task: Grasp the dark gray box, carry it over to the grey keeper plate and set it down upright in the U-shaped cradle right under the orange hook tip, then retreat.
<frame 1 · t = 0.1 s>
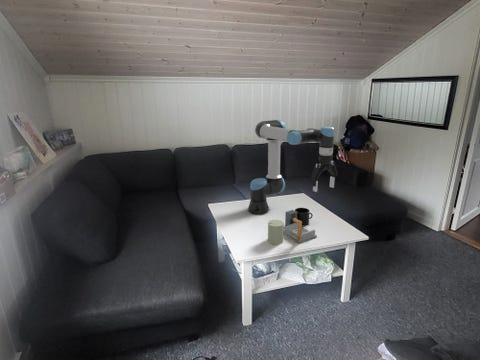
hand: (323, 189, 175), 28 cm above the table, fingers open, 13 cm apart
keeper: (298, 234, 180), on the table
mug: (303, 223, 196), on the table
dark gray box: (290, 226, 192), on the table
can: (275, 241, 174), on the table
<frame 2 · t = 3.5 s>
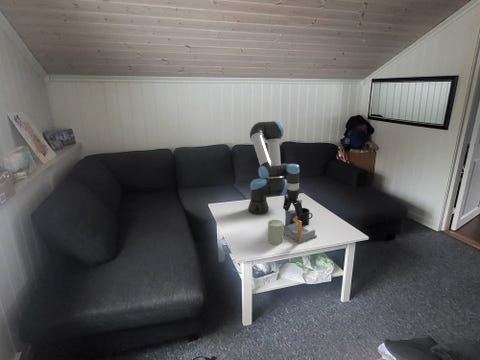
hand: (292, 222, 190), 3 cm above the table, fingers open, 9 cm apart
nothing on the table moved.
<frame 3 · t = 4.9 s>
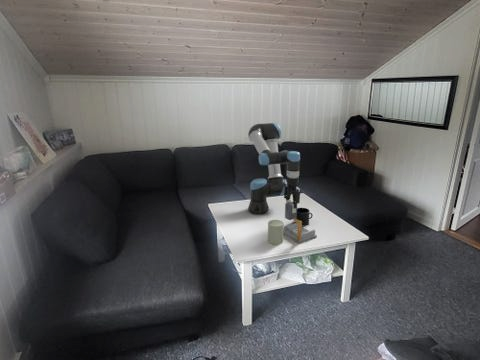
hand: (291, 210, 189), 10 cm above the table, fingers closed on dark gray box, 5 cm apart
dark gray box: (290, 217, 191), point 6 cm above the table, touching gripper
everything else where it was.
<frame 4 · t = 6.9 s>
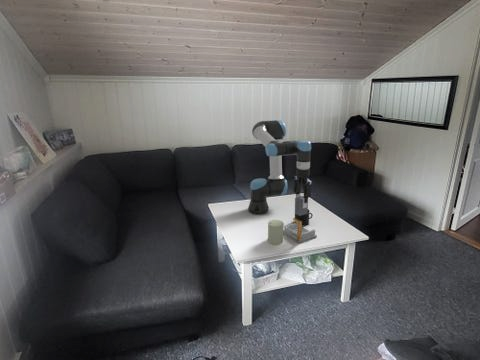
hand: (301, 206, 175), 19 cm above the table, fingers closed on dark gray box, 5 cm apart
dark gray box: (301, 213, 176), point 14 cm above the table, touching gripper
everything else where it was.
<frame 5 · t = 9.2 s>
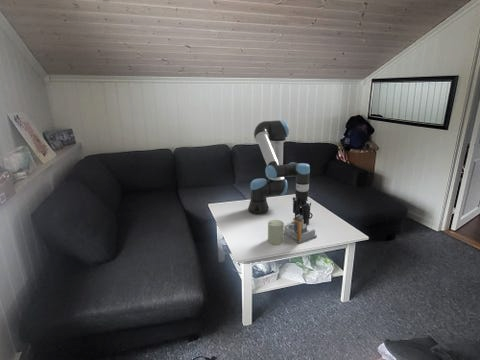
hand: (300, 226, 178), 6 cm above the table, fingers closed on dark gray box, 5 cm apart
dark gray box: (300, 232, 180), point 1 cm above the table, touching gripper, keeper
everything else where it was.
when the fingers open (6 cm above the table, at t = 9.8 s): dark gray box stays where it is, resting on keeper.
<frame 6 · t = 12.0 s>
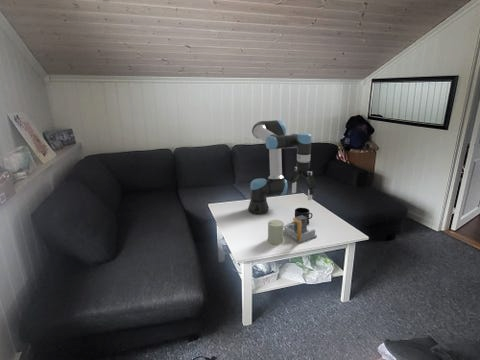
hand: (301, 196, 173), 25 cm above the table, fingers open, 13 cm apart
dark gray box: (300, 232, 180), point 1 cm above the table, touching keeper
everything else where it was.
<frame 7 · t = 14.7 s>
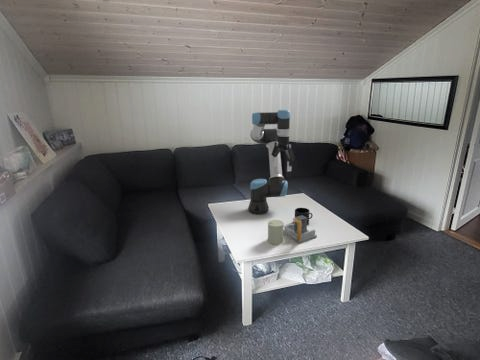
hand: (282, 168, 188), 37 cm above the table, fingers open, 13 cm apart
nothing on the table moved.
at the end: dark gray box inside the target area on the keeper (0.4 cm from its centre), point 1.5 cm above the keeper's base; dark gray box tilted 0°; the gripper is holding nothing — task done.
